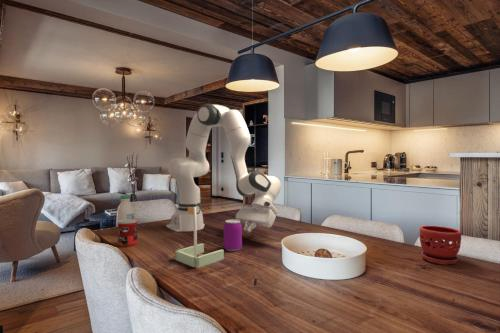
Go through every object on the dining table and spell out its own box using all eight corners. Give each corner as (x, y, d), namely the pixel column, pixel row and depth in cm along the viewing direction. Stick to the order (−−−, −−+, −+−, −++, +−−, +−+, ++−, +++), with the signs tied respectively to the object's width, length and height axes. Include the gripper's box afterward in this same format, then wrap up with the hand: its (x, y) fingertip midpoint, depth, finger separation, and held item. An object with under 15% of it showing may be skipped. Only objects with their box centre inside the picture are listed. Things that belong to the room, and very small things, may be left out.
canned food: (115, 245, 137) (114, 220, 137) (132, 241, 143) (132, 218, 143) (123, 248, 132) (122, 223, 132) (140, 244, 138) (140, 220, 137)
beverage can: (243, 251, 127) (242, 222, 126) (224, 252, 125) (224, 223, 125) (240, 245, 134) (240, 218, 134) (223, 246, 133) (222, 219, 133)
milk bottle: (121, 237, 151) (120, 196, 150) (115, 234, 157) (114, 195, 156) (136, 234, 156) (135, 195, 155) (131, 231, 162) (130, 194, 161)
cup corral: (175, 259, 117) (174, 203, 116) (202, 251, 126) (201, 200, 126) (196, 268, 108) (195, 207, 107) (223, 259, 117) (223, 203, 116)
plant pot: (466, 268, 105) (466, 234, 105) (422, 264, 110) (423, 231, 109) (455, 256, 117) (455, 225, 117) (416, 253, 122) (416, 223, 121)
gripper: (241, 200, 148) (227, 223, 141) (274, 204, 134) (260, 230, 127) (248, 208, 151) (234, 231, 145) (281, 213, 137) (267, 239, 131)
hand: (246, 231), depth 136 cm, fingers closed
